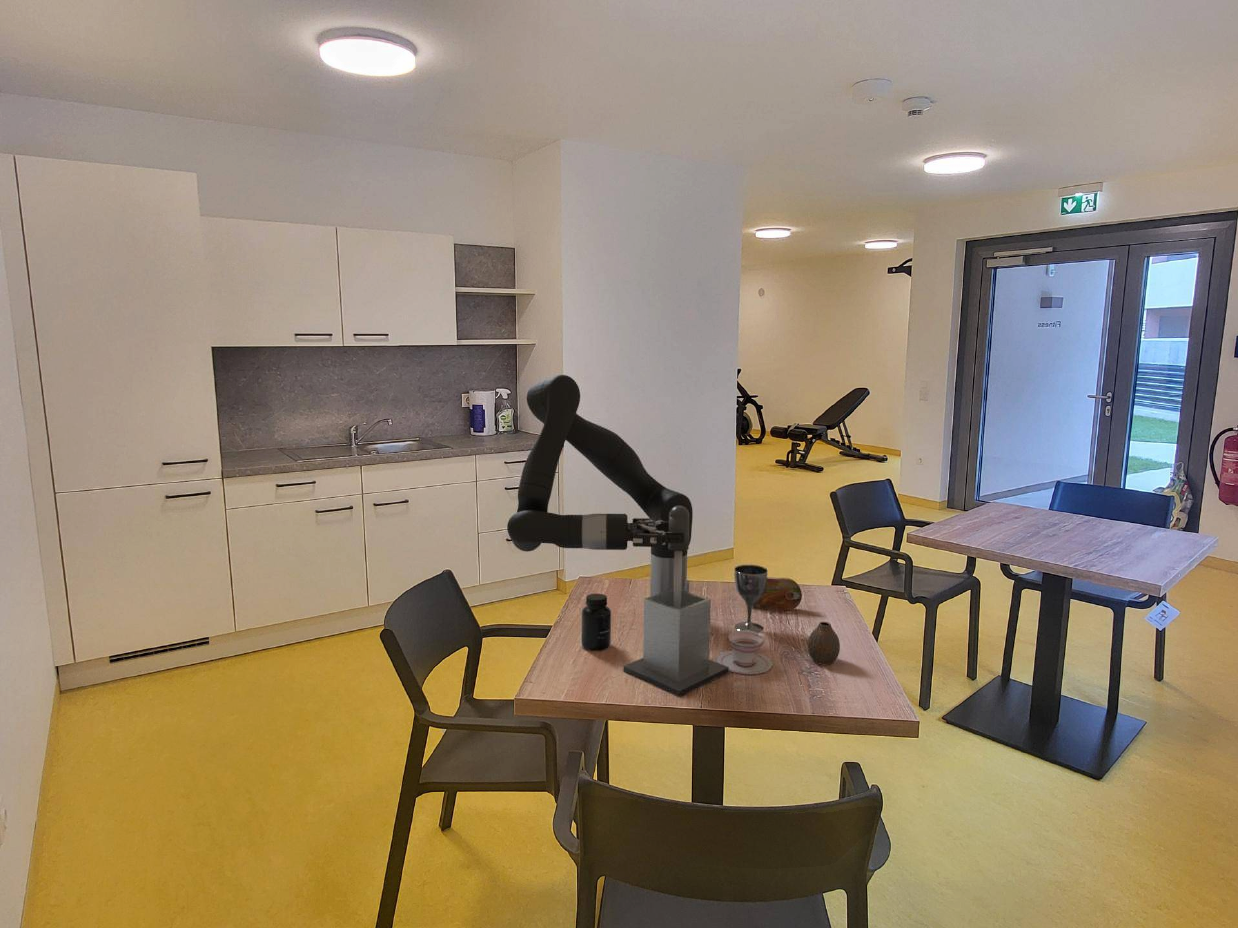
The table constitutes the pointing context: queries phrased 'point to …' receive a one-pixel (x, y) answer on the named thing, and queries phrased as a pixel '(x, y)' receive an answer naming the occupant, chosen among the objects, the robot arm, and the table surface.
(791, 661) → the table surface
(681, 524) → the screwdriver
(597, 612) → the supplement bottle
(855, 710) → the table surface
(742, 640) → the teacup
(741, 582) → the wine glass
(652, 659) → the square planter box
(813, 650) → the vase
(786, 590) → the tin
